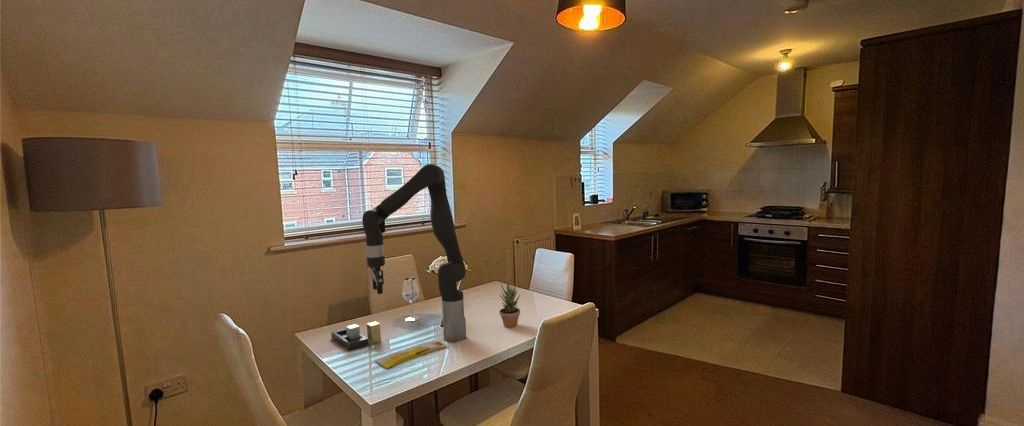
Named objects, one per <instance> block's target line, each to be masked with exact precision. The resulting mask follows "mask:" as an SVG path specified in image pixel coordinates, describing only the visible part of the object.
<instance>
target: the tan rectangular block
mask: <svg viewBox="0 0 1024 426" xmlns="http://www.w3.org/2000/svg"><path fill="white" fill-rule="evenodd" d="M366 330H367V331H366V332H367V338H368V342H369V344H371V345H374V344H378V343H381V342H382V334H381V324H380V323H379V322H378V321H372V322H367V323H366Z"/></svg>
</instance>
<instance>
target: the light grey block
mask: <svg viewBox="0 0 1024 426" xmlns="http://www.w3.org/2000/svg"><path fill="white" fill-rule="evenodd" d="M345 328H346V332H347V341H349V342H350V341H354V340H357V339H360V334H361V333H360V332H361V331H360V329H361V328H360V326H359V325H358V324H356V323H354V324H351V325H346V326H345Z"/></svg>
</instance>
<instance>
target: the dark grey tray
mask: <svg viewBox="0 0 1024 426" xmlns="http://www.w3.org/2000/svg"><path fill="white" fill-rule="evenodd" d="M330 335H331V339H332V338H333V339H334V340H333V339H332V340H333V341H335V342H336V341H337V342H336V343H338V344H339V345H341V346H342V347H343V348H344V349H346V350H347V351H349V352H351V351H355V350H358V349H362V348H366V347H367V346H369V344H370V343H369V342H368V336H367V337H366V336H365V335H363V334H362V333H360V339H357V340H354V341H350V342H349V341H347V332H346V327H344V328H340V329H337V330H336V329H335V330H333V331H331V332H330Z"/></svg>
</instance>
